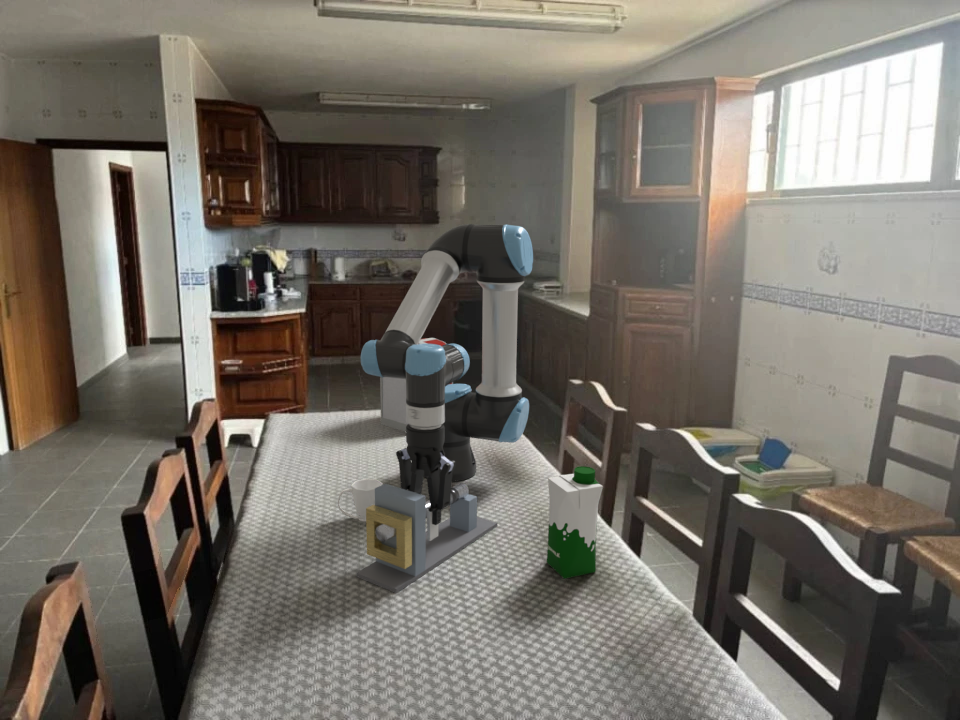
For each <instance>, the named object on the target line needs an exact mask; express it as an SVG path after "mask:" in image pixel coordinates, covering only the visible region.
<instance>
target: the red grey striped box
mask: <svg viewBox="0 0 960 720" xmlns="http://www.w3.org/2000/svg"><path fill="white" fill-rule="evenodd" d="M418 344H437V345H440V346H443V345H446V344H447V343H446V341H443V340H440V339H438V338H435V337H429V338H426V337H425V338H421V339H420V341H419V343H418ZM379 377H380V376H379ZM379 381H380V382H379V384H380V385H379V386H380V388H379V389H380V390H379V391H380V392H379V393H380V425H383V426H384V427H385V426H386V427H388V428H392V429H395V430H398V431H402V432H404V433H406V426H407V425H408V423H407V422H406V379H401V378H391V377H380V378H379ZM450 384H454V382H452V383H450ZM448 385H449V384H448Z"/></svg>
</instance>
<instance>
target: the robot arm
mask: <svg viewBox="0 0 960 720" xmlns="http://www.w3.org/2000/svg"><path fill="white" fill-rule="evenodd" d="M533 264H534V250H533V243H532V240H531V237H530V234H529V233H528V231H527V230H526V228H524V227H523V226H520V225H512V224H507V223H506V224H477V223H476V224H473V223H463V224H459V225H457V226H453V227H452V228H450V229H448V230H446V231H445V232H443V233H442V234H440V235H439V236H438V237H436V239H434V241H433V242H432V243H431V244H430V245H429V246H428V247H427V249H426V250H425V252H424V253H423V255H422V257H421V260H420V265H421V267H420V269H419V271H418V274H416V277H415V279H414V280H413V282H412V283H411V286H410V287H409V289H408V291H407V293H406V295H405V296H404V298H403V300H402V301H401V303H400V305H399V307H398V309H397V311H396V313H395V314H394V316H393V318H392V320H391V321H390V323H389V325H388V327H387V329H386V330H385V332H384V333H383V335H382V337H381V339H380V340H379V339H375V340H374V339H371V340H368V341H367V342H365V343H364V345H363V346H362V349H361V353H360V365H361V367H362V370H363V371H364V372H365V373H366V374H367V375H371V376H376V377H391V378H401V379H406V422H407V423H408V425H407V426H406V432H405V442H406V444H407V446H406V447H405V448H402V449H400V450H397V451H395V455H396V459H397V461H398V465H399V466H398V468H399V481H400V488H401V489H405V490H408V491H411V492H415V493H418V494H421V495H422V489H423V484H424V483H423V482H424V478H425V479H426V482H427V490H428V498H429V499H428V500H430V508H428V509H427V518H426V531H427V540H429V541H431V540H433V539H434V538H436V537H437V536H438V524H440V523H442V510H444V509H446V508H448V507H450V497H451V488H452V487H453V486H452V484H453V482H459V481H464V480H467V479H470V478H472V477H473V476H474V475H476V474H477V461H476V458H475V455H474V452H473V449H472V446H471V439H476V440H477V439H478V440H487V441H492V442H498V443H517V441H519V440H520V439H521V437H522V436H523V433H524V431H525V429H526V426H527V423H528V418H529V413H530V401H529V399H528V398H526V397H523V396H522V395H523V394H522V392H523V389H522V388H521V386H519V385H518V383H517V355H518V353H517V349H518V348H517V347H518V345H517V344H518V343H517V342H518V340H517V339H518V304H519V302H518V301H519V300H518V299H519V297H518V296H519V288H520V287H521V286H522V285H523V284H524V283H525V277H527V276H530V274H531V273H532V270H533ZM463 273H472V274H473V273H476V282H477V283H478V285H480V287H481V288H482V332H481V333H482V334H481V335H482V337H481V339H482V340H481V341H482V344H481V347H482V348H481V349H482V350H481V352H482V353H481V354H482V355H481V383H480V384H479V385H478V386H476V388H475V392H472V388H471V385H469V384H466V383H454V382H456V381H459V380H460V379H461V378H462V377H464V375H466V373H467V372H468V370H469V368H470V364H471V362H470V360H471V359H470V355H469V354H468V351H467V350H466V349H465V348H464V347H463V346H462V345H460V344H457V343H446V345H443V346H440V345H437V344H418V343H419V341H420V339H422V337H423V335H424V334H425V332H426V329H427V328H428V326H429V324H430V322H431V319H432V318H433V316H434V314H435V312H436V311H437V308H438V307H439V304H440V302H441V300H442V299H443V297H444V295H445V293H446V291H447V289H448V287H449V285H450V283H452V282H454V281H456V280H457V279H458V278H459V275H460V274H463ZM452 382H453V384H450V383H452ZM448 384H449V385H448ZM445 507H446V508H445Z"/></svg>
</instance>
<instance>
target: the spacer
mask: <svg viewBox="0 0 960 720" xmlns="http://www.w3.org/2000/svg"><path fill="white" fill-rule="evenodd" d="M381 523H382V524H385V525H388V526H390V527H393V528H396V539H397V549H395V548H392V547H389V546H386V545H384V544H382V541H380V540H379V539H378V538H377V536H376V528H377V527H378V526H380V525H381ZM365 524H366V526H365V527H366V528H365V530H366V531H365V533H366V555H368V556H370V557H373V558H375V559H376V558H378V559H380V560H383V561H385V562H388V563H391V564H393V565H396V566H398V567H401V568H404V569H406V568H407V567H409V566H411V565H412V517H409V516H406V515H403V514H400V513H397V512H394V511H391V510H388V509H385V508H382V507H379V506H376V505H372V506H370V507H368V508H366V522H365Z"/></svg>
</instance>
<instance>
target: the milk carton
mask: <svg viewBox="0 0 960 720" xmlns="http://www.w3.org/2000/svg"><path fill="white" fill-rule="evenodd" d="M547 480H548V481H547V483H548V496H549V498H548V499H549V503H548V504H549V506H548V507H549V508H548V536H547V538H548V539H547V553H546V563H547V564H548V565H549V566H550V567H551V568H553V570H554V571H555V572H556V573H557V574H558V575H560V576H561V578H563V579H564V580H565V579H570V578H574V577H579V576H583V575H588V574H593V573H596V572H597V571H596V570H597V569H596V566H597V563H596V562H597V561H596V560H597V557H596V556H597V555H596V554H597V553H596V552H597V551H596V550H597V548H596V547H597V545H596V544H597V531H598V530H597V529H598V528H597V527H598V516H599V515H598V511H599V502H600V499H601V495H602V491H603V488H604V486H603V485H602V484H601V483H600V482H598V481H597V480H596V469H594V468H593V467H590V466H587V465H586V466H584V465H583V466H576V467H575V468H574V470H573V473H568V474H559V475H557V476H553V477H547Z"/></svg>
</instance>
